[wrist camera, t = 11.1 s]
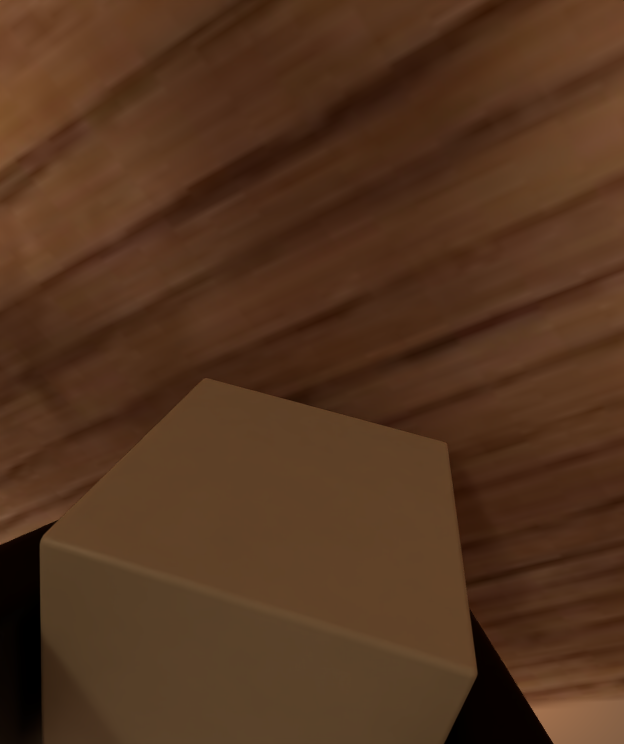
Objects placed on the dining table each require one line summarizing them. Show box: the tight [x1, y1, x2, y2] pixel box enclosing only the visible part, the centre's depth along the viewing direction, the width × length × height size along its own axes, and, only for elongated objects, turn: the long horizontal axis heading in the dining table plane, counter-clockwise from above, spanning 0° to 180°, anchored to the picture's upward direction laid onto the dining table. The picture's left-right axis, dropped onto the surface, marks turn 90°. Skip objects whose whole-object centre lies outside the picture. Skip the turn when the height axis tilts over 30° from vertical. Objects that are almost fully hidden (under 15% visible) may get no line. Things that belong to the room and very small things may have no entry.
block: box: [40, 378, 478, 744], centre depth 7 cm, size 4×4×4 cm
